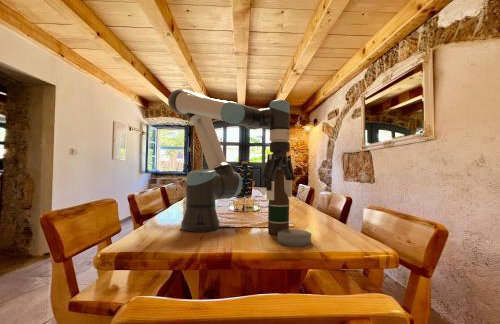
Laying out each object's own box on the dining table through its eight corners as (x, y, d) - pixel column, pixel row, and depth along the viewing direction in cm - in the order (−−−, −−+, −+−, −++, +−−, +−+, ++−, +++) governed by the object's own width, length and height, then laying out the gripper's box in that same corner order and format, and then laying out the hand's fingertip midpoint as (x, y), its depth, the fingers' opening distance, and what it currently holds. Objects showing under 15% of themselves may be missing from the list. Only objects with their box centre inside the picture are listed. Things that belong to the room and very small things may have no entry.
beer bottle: (290, 236, 99) (290, 169, 99) (268, 235, 99) (269, 169, 99) (287, 231, 106) (288, 169, 107) (267, 230, 107) (268, 169, 107)
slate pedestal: (271, 242, 90) (271, 233, 90) (287, 236, 99) (287, 227, 99) (302, 249, 83) (302, 238, 83) (316, 241, 92) (316, 231, 92)
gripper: (271, 138, 91) (271, 202, 90) (302, 143, 111) (302, 196, 111) (252, 139, 95) (252, 200, 95) (286, 144, 115) (286, 195, 115)
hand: (279, 198), depth 103 cm, fingers open, 13 cm apart
